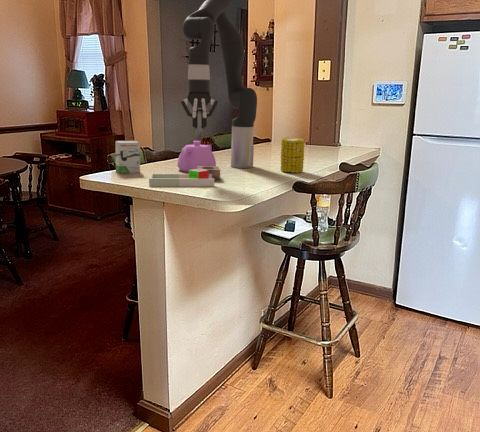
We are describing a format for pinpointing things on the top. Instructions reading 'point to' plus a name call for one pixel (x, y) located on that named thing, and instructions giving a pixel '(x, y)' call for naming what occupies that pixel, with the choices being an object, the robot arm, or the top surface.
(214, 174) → the bore block
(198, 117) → the pin gauge
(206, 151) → the purple bag
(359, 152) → the top surface
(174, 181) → the tray
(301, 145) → the food
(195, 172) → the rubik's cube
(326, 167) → the top surface
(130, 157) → the ink box
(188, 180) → the guide rails
